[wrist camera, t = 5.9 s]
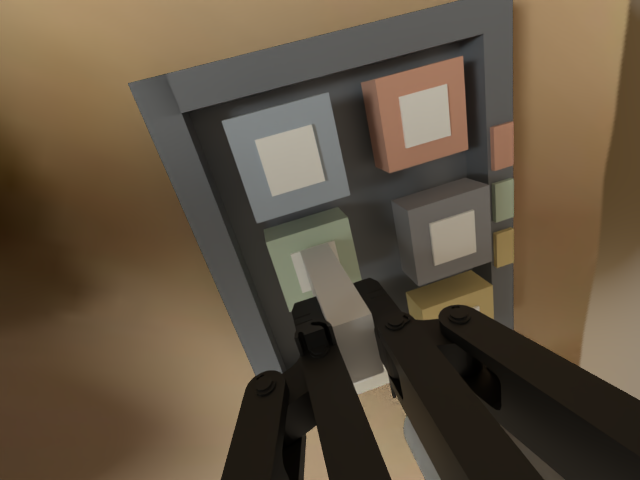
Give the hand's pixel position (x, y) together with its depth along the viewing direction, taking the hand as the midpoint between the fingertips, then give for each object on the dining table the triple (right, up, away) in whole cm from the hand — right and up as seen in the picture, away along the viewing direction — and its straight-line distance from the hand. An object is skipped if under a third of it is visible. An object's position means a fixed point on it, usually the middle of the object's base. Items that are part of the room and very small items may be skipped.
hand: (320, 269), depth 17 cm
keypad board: (+2, +2, +4) cm, 5 cm away
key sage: (-1, +1, +2) cm, 2 cm away
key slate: (-2, +6, -2) cm, 6 cm away
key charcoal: (+6, +2, +1) cm, 7 cm away
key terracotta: (+5, +8, 0) cm, 9 cm away
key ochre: (+8, -3, +4) cm, 9 cm away
